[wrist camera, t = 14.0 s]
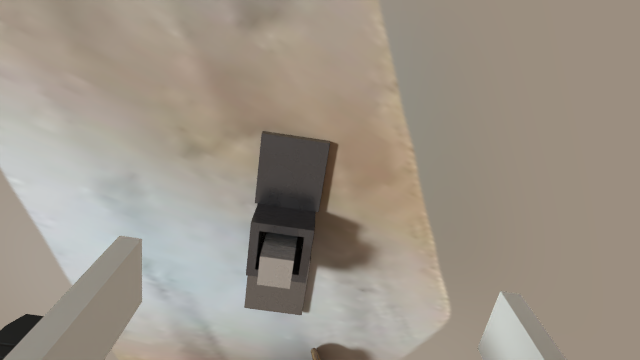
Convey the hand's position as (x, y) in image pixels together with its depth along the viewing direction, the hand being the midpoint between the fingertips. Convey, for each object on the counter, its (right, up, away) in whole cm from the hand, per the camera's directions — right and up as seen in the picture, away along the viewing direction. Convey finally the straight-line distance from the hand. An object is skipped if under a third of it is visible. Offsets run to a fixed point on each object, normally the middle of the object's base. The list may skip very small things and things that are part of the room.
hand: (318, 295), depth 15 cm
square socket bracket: (-5, -2, +38) cm, 38 cm away
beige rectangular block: (-5, -2, +38) cm, 38 cm away
